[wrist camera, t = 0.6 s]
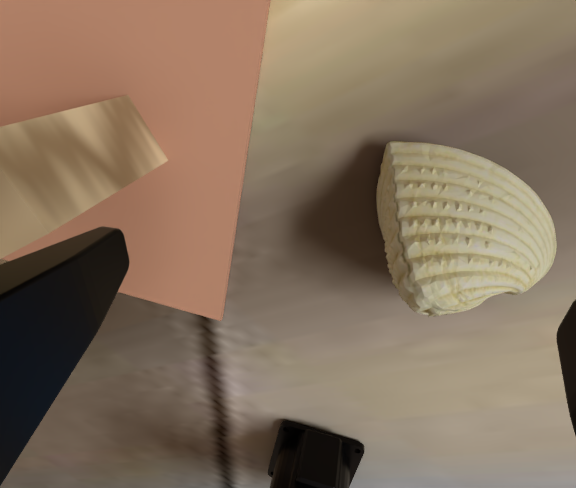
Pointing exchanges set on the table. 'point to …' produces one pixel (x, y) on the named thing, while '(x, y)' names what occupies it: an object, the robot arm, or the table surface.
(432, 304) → the seashell
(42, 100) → the rubber mat
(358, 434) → the table surface
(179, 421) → the table surface
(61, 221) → the birch block
